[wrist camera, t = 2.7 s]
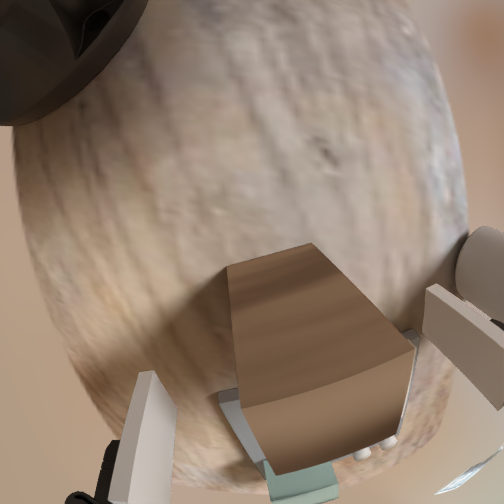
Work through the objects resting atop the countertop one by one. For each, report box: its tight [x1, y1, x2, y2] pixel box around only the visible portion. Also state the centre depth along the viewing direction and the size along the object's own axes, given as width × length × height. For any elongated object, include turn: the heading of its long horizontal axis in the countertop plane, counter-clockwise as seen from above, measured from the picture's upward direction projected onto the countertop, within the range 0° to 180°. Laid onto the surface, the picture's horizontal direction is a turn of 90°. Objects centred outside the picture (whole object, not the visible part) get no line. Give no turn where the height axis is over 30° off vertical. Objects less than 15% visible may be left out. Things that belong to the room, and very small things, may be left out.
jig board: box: [218, 328, 420, 480], centre depth 20 cm, size 16×16×3 cm
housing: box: [263, 460, 338, 504], centre depth 20 cm, size 6×6×5 cm
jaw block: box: [227, 243, 415, 476], centre depth 12 cm, size 5×5×10 cm
